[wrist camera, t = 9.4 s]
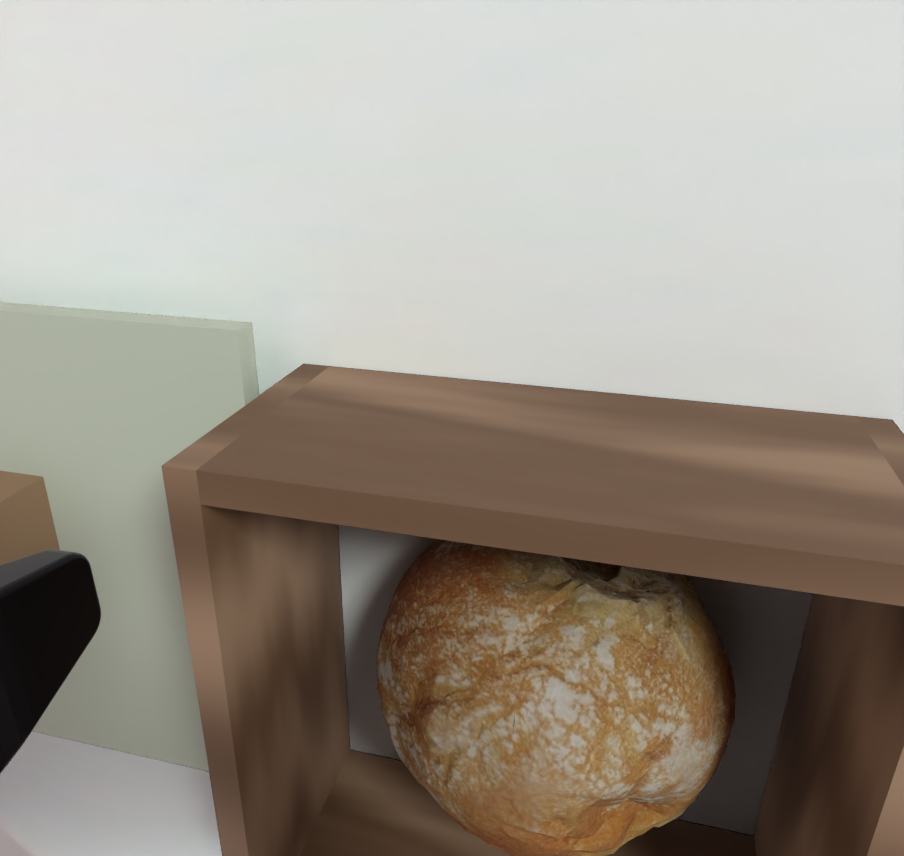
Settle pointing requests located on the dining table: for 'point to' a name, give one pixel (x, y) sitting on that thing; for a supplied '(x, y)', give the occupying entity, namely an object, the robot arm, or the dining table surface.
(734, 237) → the dining table surface
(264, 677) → the bread box
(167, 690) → the lid
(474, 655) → the bread roll
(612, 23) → the dining table surface
